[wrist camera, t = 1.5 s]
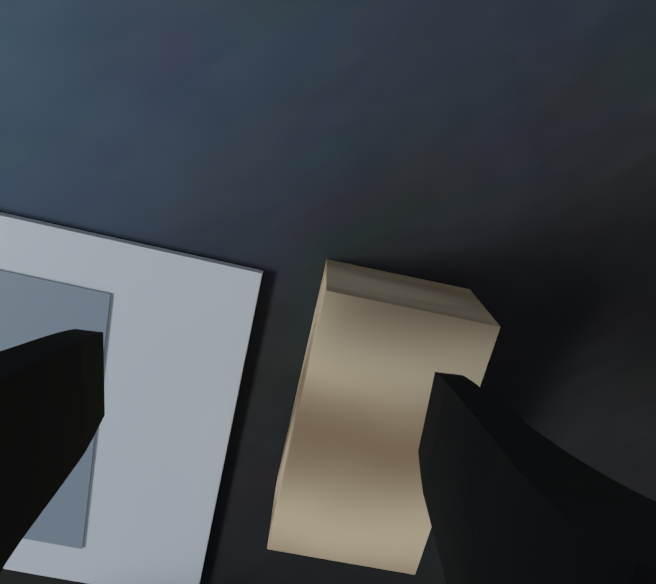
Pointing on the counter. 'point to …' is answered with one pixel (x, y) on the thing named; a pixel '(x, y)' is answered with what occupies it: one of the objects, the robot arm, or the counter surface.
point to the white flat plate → (132, 396)
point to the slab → (371, 414)
